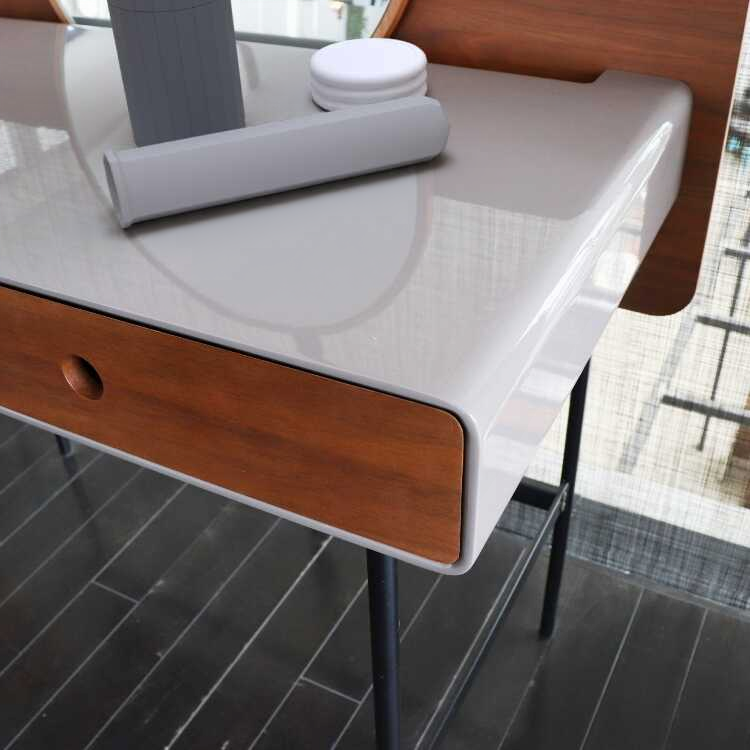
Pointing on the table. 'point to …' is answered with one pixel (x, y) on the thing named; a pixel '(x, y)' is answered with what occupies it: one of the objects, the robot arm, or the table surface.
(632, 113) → the table surface
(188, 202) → the tube
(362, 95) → the white thick disc
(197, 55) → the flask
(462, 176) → the table surface
